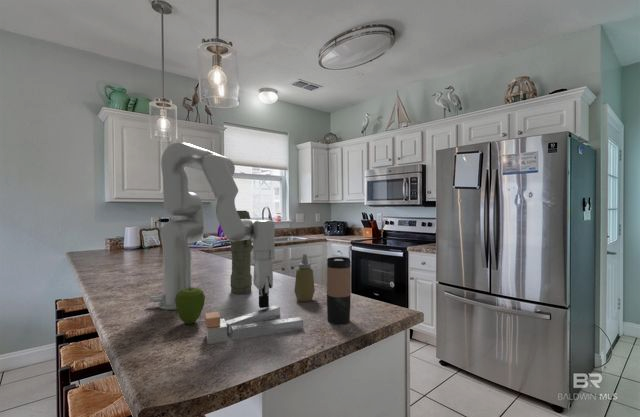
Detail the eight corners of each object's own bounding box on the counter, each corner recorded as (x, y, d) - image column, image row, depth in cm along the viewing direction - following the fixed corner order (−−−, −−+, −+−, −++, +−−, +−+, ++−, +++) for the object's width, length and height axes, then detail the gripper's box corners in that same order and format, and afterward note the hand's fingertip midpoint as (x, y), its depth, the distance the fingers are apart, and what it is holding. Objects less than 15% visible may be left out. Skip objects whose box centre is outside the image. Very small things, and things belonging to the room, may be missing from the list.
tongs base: (207, 344, 85) (207, 329, 85) (206, 334, 91) (206, 320, 91) (303, 329, 95) (303, 316, 95) (295, 321, 101) (295, 309, 101)
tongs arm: (228, 334, 91) (228, 324, 91) (222, 331, 93) (222, 322, 93) (279, 315, 108) (279, 307, 108) (274, 313, 109) (274, 305, 109)
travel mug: (352, 318, 105) (353, 257, 105) (347, 326, 98) (347, 261, 98) (330, 315, 107) (330, 256, 107) (323, 323, 100) (323, 259, 100)
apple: (175, 330, 94) (175, 291, 94) (174, 321, 102) (174, 285, 102) (206, 325, 98) (206, 288, 98) (202, 317, 106) (203, 282, 106)
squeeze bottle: (312, 303, 121) (312, 256, 121) (291, 302, 122) (291, 255, 122) (316, 297, 129) (316, 253, 129) (297, 296, 130) (297, 252, 130)
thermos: (241, 296, 130) (242, 210, 130) (224, 291, 138) (224, 210, 138) (258, 291, 137) (258, 210, 137) (240, 287, 145) (240, 210, 145)
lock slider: (206, 327, 85) (206, 318, 85) (205, 321, 90) (205, 313, 90) (220, 325, 87) (220, 317, 87) (218, 320, 91) (218, 311, 91)
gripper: (249, 252, 117) (249, 302, 117) (257, 258, 104) (257, 315, 104) (269, 251, 120) (268, 300, 120) (280, 257, 107) (280, 312, 107)
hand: (263, 306), depth 112 cm, fingers closed
